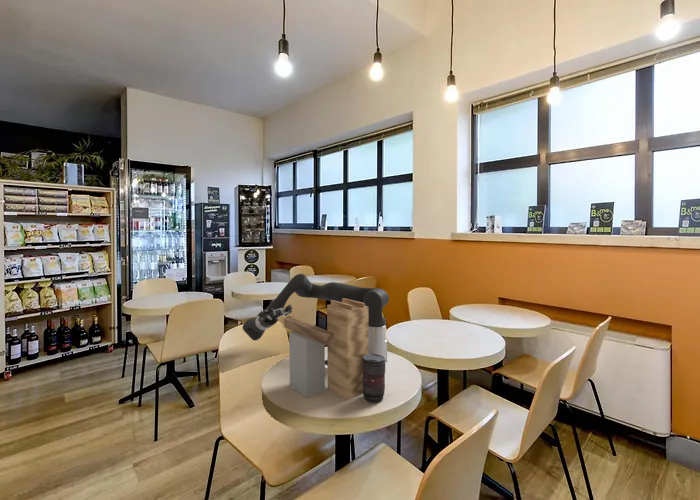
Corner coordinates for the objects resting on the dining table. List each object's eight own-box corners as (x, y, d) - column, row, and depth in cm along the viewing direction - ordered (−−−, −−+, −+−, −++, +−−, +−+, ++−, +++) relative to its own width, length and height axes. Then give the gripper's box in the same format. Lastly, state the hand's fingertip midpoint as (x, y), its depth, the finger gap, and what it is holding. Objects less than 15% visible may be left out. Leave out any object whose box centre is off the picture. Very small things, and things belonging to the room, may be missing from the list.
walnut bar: (291, 324, 142) (291, 314, 142) (335, 342, 119) (334, 330, 119) (281, 326, 139) (281, 315, 139) (324, 345, 116) (324, 332, 116)
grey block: (307, 380, 138) (306, 328, 136) (325, 390, 129) (324, 335, 127) (289, 385, 133) (289, 332, 131) (306, 397, 123) (306, 340, 122)
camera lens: (384, 405, 118) (384, 362, 117) (360, 402, 120) (360, 360, 119) (386, 394, 126) (386, 354, 125) (364, 392, 127) (364, 352, 127)
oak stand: (348, 380, 137) (347, 297, 135) (368, 391, 128) (368, 302, 126) (327, 388, 131) (327, 301, 129) (347, 400, 121) (347, 306, 119)
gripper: (249, 314, 152) (263, 302, 140) (278, 309, 161) (294, 297, 150) (253, 330, 150) (268, 319, 138) (282, 324, 159) (298, 314, 147)
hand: (281, 308), depth 144 cm, fingers open, 8 cm apart
